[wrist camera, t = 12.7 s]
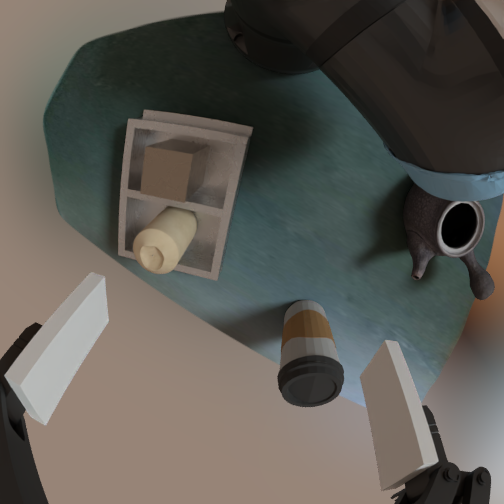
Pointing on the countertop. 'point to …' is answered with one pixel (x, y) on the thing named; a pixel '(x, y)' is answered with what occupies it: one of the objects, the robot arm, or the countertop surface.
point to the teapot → (445, 235)
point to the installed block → (174, 169)
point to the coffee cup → (308, 357)
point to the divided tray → (202, 201)
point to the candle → (165, 240)
